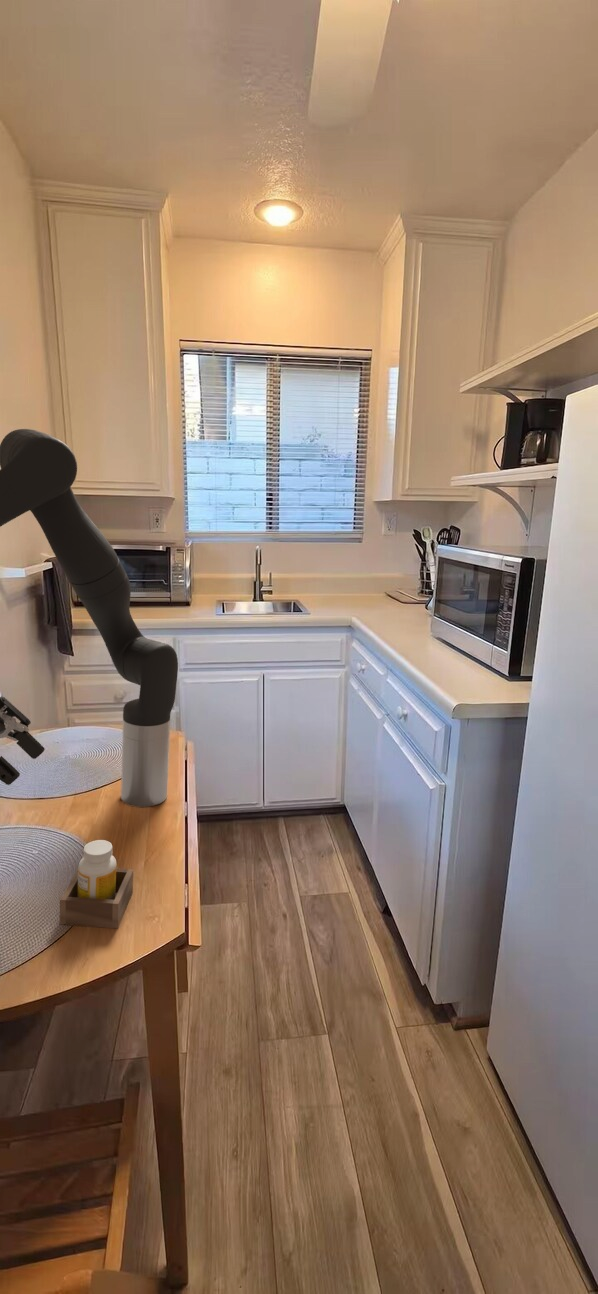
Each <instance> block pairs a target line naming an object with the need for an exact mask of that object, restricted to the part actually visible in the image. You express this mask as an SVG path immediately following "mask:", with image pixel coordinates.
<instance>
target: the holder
mask: <svg viewBox="0 0 598 1294" xmlns="http://www.w3.org/2000/svg"><path fill="white" fill-rule="evenodd" d="M73 875H74V876H73V877H72V879H71V881H70V882H69V884H68V886H67V887H66V889H65V891H64V892H63V894H62V896H61V897H60V899H59V925H60V924H67V925H66V926H75V927H92V928H93V927H94V928H107V929H118V928H119V926H120V924H121V922H122V919H123V916H124V915H125V912H126V910H127V908H128V905H129V903H130V899H131V897H132V895H133V892H134V891H133V890H134V869H128V868H116V891H115V900H108V899H94V898H79V897H77V894H78V869H77V870H76V872H75V874H73Z"/></svg>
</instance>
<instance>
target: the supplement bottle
mask: <svg viewBox="0 0 598 1294" xmlns="http://www.w3.org/2000/svg"><path fill="white" fill-rule="evenodd" d="M113 851H114V850H113V845H112V843H111V842H110V841H108V840H104V839H95V840H93V841H90V842H89V841H88V843H86V844H85V846H83V856H82V858H81V859H80V861H79V863H78V866H77V870H78V894H77V897H79V898H94V899H108V900H115V891H116V869H117V860H116V858H115V856H114V855H113Z"/></svg>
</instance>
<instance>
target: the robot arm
mask: <svg viewBox="0 0 598 1294" xmlns="http://www.w3.org/2000/svg"><path fill="white" fill-rule="evenodd" d="M77 473H78V464H77V459H76V456H75V454H74V452H73V451H72V449H71V448H70V446H69V445H67V444H66V443H65V442H64V441H62V440H60V439H59V438H56V437H55V436H53V435H49V434H47V433H44V432H42V431H39V430H35V429H31V428H21V429H19V428H18V429H15V430H11V431H10V432H8V433H7V434H6V435H5V436H4V438H2V440H1V441H0V528H1V527H2V526H4V525H6V524H7V523H9V522H11V521H13V520H15V519H16V518H18V517H20V516H22V515H24V514H25V513H27V512H31V514H32V515H33V516H34V518H35V519H36V521H37V523H38V524H39V526H40V528H41V530H42V532H43V534H44V536H45V538H46V540H47V541H48V544H49V546H50V548H51V550H52V553H53V555H54V556H55V557H56V560H57V562H58V563H59V566H60V567H61V569H62V572H63V573H64V575H65V576H66V579H67V581H68V583H69V584H70V586H71V587H72V589H73V590H74V592H75V594H76V596H77V597H78V599H79V601H80V602H81V604H82V605H83V606H84V609H85V610H86V611H87V613H88V615H89V617H90V619H91V620H92V622H93V624H94V625H95V627H96V629H97V630H98V632H99V633H100V636H101V637H102V640H103V642H104V645H105V646H106V650H107V651H108V653H109V656H110V658H111V661H112V663H113V665H114V667H115V669H116V671H117V673H118V674H119V675H120V677H122V678H123V679H124V680H125V681H127V682H130V683H132V684H134V685H138V686H139V695H138V698H136V699H131V700H129V701H126V703H125V704H124V706H123V710H122V741H121V742H122V747H121V749H122V750H121V751H122V752H121V783H120V786H121V787H120V799H121V801H122V802H123V803H125V804H126V805H128V806H131V807H138V808H146V807H147V808H148V807H149V808H150V807H154V806H157V805H159V804H161V803H163V802H164V801H165V800H166V799H167V797H168V780H169V760H170V759H169V755H170V754H169V753H170V739H171V738H170V730H171V713H172V710H173V708H174V705H175V701H176V691H177V682H178V671H179V662H178V661H179V658H178V655H177V652H176V651H175V648H174V647H173V646H172V645H170V644H167V643H165V642H162V641H157V640H153V639H149V638H147V637H145V636H144V635H143V634H142V633H141V631H140V629H139V628H138V626H137V624H136V622H135V621H134V620H133V616H132V615H131V612H130V611H131V610H130V606H131V605H130V604H131V584H130V578H129V577H128V574H127V572H126V569H125V568H124V566H123V564H122V563H121V560H120V559H119V557H118V555H117V552H116V551H115V549H114V548H113V546H112V545H111V543H110V542H109V541H108V539H107V538H106V536H105V535H104V534H103V532H102V531H101V530H100V529H99V528H98V526H97V525H96V524H95V523H94V522H93V521H92V519H91V518H90V516H89V515H88V514H87V512H86V511H85V510H84V509H83V508H82V506H81V505H80V503H79V501H78V499H77V496H75V494H74V491H73V489H72V487H71V486H73V484H74V482H75V480H76V477H77ZM17 720H18V721H20V722H18V721H17ZM31 722H32V721H31V720H30V719H29V718H28V717H27V716H26V715H25V714H24V713H22V712H21V711H20V710H19V709H18V707H16V706H15V705H14V704H12V702H10V701H9V700H8V699H7V698H6V697H4V696H0V739H3V738H6V739H9V740H12V741H15V742H16V744H17V745H18V746H19V747H20V749H22V750H23V751H24V753H26V754H27V755H28V756H29V757H30V758H31V759H34V760H36V759H37V758H38V757H40V756H41V755H42V754H43V752H45V750H46V749H45V746H43V745H42V743H40V742H39V741H38V740H37V739H36V738H35V737H34V736H33V735H32V734H31V733H30V732H29V730H30V729H29V725H31ZM20 776H21V773H20V772H19V771H18V770H17V769H16V768H15V767H14V766H13V765H12V764H11V763H10V762H8V760H7V759H5V757H3V756H2V755H1V756H0V781H1V782H2V783H4V784H5V785H7V786H10V785H11V784H13V783H14V782H15V781H16V780H17V779H18V778H19V777H20Z"/></svg>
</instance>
